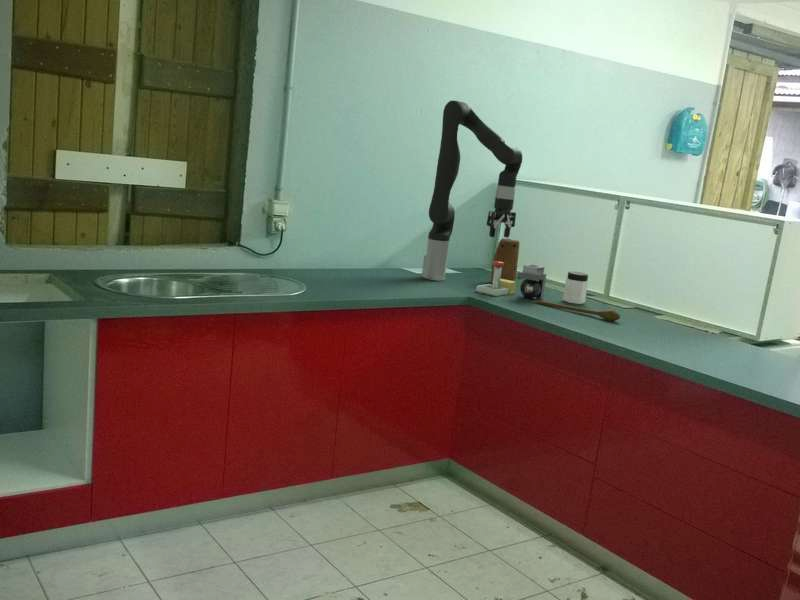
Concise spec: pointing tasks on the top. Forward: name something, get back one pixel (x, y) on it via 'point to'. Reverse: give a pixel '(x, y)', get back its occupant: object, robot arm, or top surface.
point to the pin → (497, 274)
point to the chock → (508, 285)
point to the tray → (492, 290)
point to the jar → (575, 287)
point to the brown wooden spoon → (585, 310)
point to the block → (507, 258)
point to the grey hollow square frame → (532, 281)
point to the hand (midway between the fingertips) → (499, 237)
